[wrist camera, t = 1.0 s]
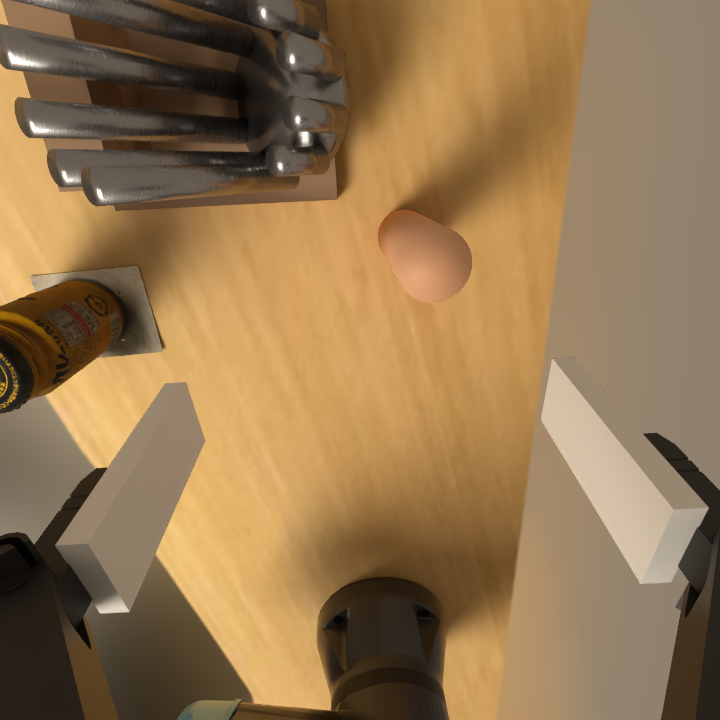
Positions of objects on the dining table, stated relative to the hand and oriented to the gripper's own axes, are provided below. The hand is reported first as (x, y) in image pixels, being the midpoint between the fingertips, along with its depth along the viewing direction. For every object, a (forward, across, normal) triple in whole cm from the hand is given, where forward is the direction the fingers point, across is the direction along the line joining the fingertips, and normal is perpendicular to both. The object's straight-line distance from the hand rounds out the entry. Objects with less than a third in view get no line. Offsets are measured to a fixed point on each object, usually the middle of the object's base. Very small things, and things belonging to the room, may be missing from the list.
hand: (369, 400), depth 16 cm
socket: (+22, +8, -10) cm, 25 cm away
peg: (+21, -3, 0) cm, 21 cm away
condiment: (+20, +22, +4) cm, 30 cm away
